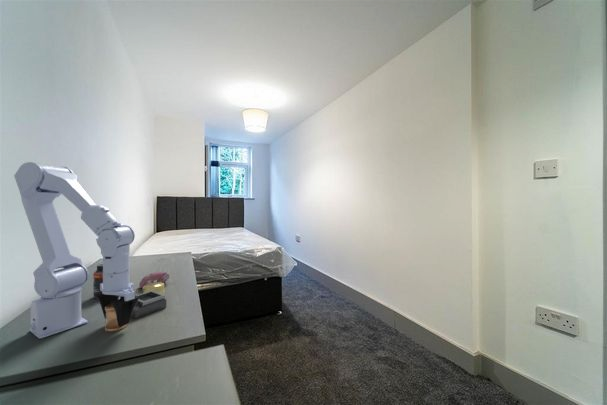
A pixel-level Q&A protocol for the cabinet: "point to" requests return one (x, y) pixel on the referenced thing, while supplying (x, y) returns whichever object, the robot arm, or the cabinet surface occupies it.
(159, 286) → the gold short rounded piece
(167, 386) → the cabinet surface
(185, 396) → the cabinet surface
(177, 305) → the cabinet surface
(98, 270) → the supplement bottle
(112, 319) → the copper flared cylinder
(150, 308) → the gray square open box
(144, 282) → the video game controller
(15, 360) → the cabinet surface
